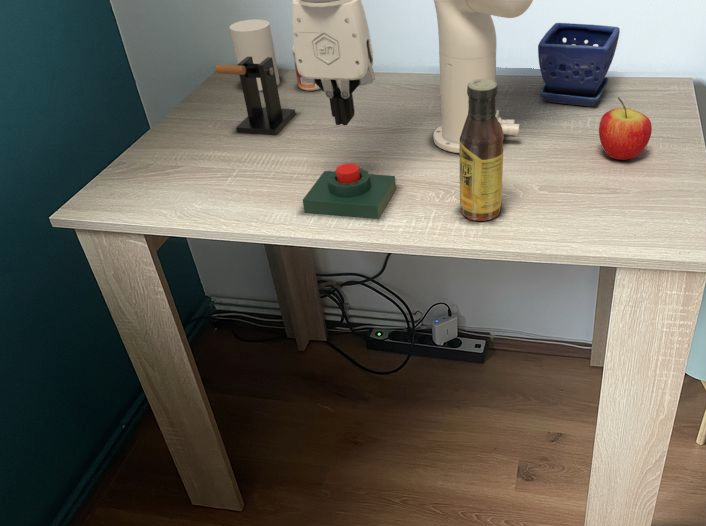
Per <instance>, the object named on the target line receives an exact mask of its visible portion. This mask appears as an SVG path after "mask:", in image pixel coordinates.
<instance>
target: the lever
mask: <svg viewBox="0 0 706 526" xmlns="http://www.w3.org/2000/svg"><path fill="white" fill-rule="evenodd" d="M258 65H259V64H252V63H248V67H245V66H238V65H237V64H236V65H234V64H233V65H232V64H216V65H215V67H214V70H215V73H216V74H218V75H219V74H220V75H239V76H240V75H244V74H245V73H248V77H251V78H260V74H259V69H258Z"/></svg>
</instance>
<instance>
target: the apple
mask: <svg viewBox="0 0 706 526" xmlns="http://www.w3.org/2000/svg"><path fill="white" fill-rule="evenodd" d="M617 99H618V101H619V102H620V103H621V105H622V106H623V107H616V108H612V109H610V110H608V111H606V112H605V113H604V114H603V115H602V117H601V118H600V121H599V126H598V136H599V137H598V138H599V142H600V144H601V147H602V149H603V150H604V152H605V153H606V155H608V156H609V157H610V158H612V159H614V160H619V161H626V160H631V159H634V158H636V157H637V156H638V155H640V154H641V153H642V152H643V151H644V149H645V148H646V147H647V146H648V144H649V142H650V139H651V136H652V130H653V129H652V126H653V125H652V122H651V120H650V118H649V117H648V116H646V115H645V113H642V112H640V111H638V110H635V109H632V108H627V107H626V106H625V103H624V102H623V100H622V99H621V98H620V96H618V97H617Z"/></svg>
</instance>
